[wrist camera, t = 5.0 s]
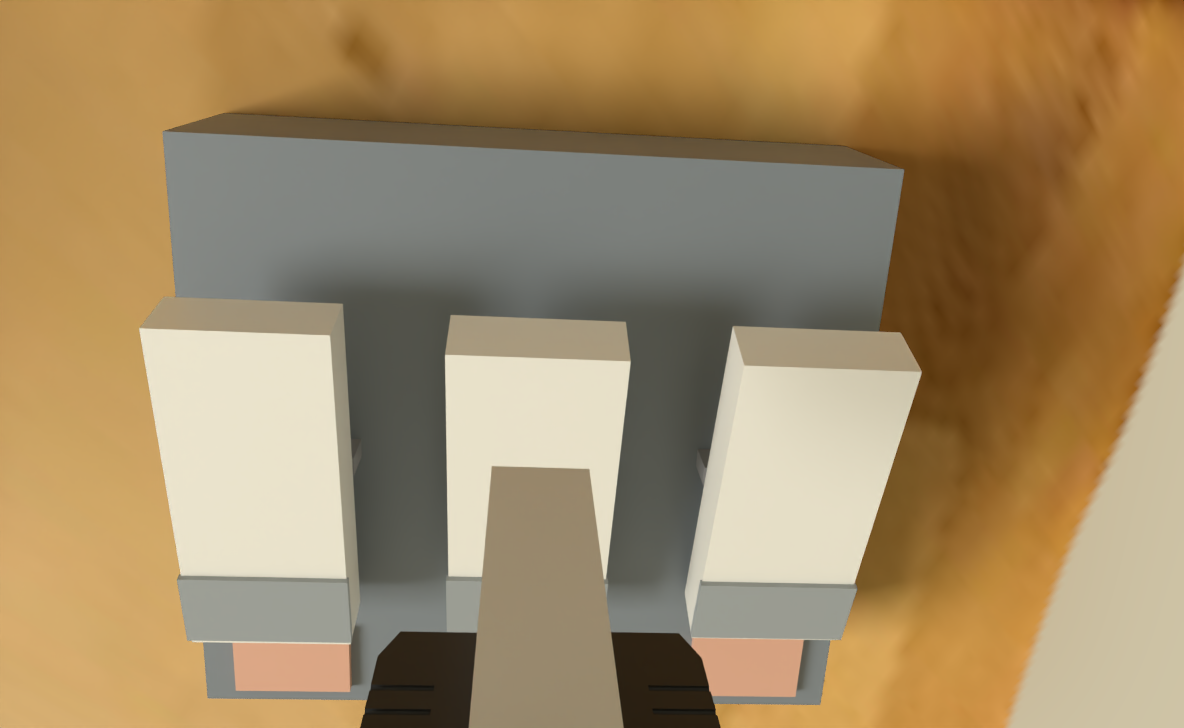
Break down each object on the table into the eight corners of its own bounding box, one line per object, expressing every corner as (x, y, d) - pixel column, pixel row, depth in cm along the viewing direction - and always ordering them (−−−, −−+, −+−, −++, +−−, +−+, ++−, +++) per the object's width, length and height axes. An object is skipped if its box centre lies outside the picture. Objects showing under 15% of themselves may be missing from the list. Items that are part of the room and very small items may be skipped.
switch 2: (448, 314, 23) (442, 358, 21) (627, 321, 23) (633, 365, 21) (452, 588, 28) (447, 638, 26) (598, 591, 28) (601, 640, 27)
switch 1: (161, 297, 23) (134, 331, 21) (344, 303, 23) (331, 338, 21) (208, 598, 27) (188, 646, 25) (362, 601, 27) (351, 648, 26)
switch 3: (730, 326, 23) (743, 369, 22) (903, 332, 23) (926, 376, 22) (682, 592, 28) (690, 642, 27) (824, 595, 28) (839, 644, 27)
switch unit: (224, 113, 28) (143, 136, 22) (844, 146, 30) (922, 176, 24) (253, 608, 33) (195, 733, 28) (779, 617, 35) (830, 738, 29)
